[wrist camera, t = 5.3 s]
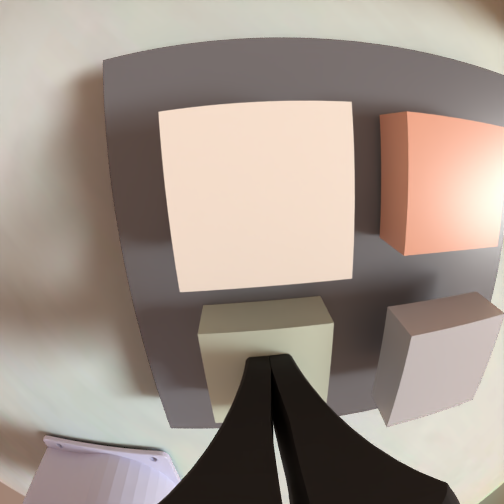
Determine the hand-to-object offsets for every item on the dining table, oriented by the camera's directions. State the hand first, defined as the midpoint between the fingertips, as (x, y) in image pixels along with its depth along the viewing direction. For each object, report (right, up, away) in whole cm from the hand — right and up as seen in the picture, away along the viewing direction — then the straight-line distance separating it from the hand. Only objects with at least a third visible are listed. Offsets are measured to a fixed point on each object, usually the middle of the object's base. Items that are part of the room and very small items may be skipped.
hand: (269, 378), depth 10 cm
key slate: (+6, +1, +1) cm, 6 cm away
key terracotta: (+6, +7, 0) cm, 9 cm away
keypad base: (+3, +4, +3) cm, 6 cm away
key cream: (0, +6, -2) cm, 6 cm away
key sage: (0, +1, +2) cm, 2 cm away
